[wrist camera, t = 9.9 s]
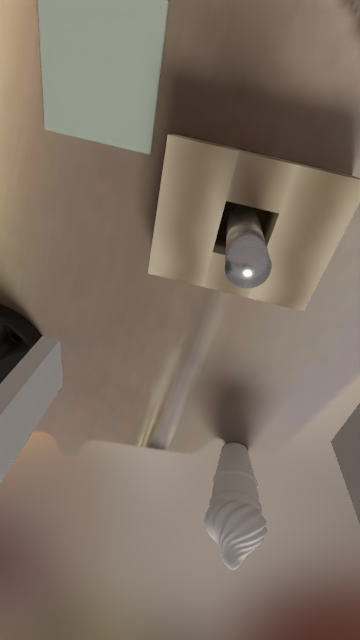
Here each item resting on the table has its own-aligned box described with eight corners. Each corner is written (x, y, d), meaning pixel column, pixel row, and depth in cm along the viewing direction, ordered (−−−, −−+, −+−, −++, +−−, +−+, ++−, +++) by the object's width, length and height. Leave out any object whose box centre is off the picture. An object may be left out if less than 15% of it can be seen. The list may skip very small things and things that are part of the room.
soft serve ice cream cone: (232, 427, 46) (232, 547, 33) (271, 451, 48) (287, 574, 35) (199, 449, 50) (188, 563, 37) (237, 470, 52) (239, 587, 39)
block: (156, 258, 33) (147, 273, 30) (175, 133, 26) (167, 134, 23) (296, 292, 33) (304, 311, 29) (352, 175, 26) (370, 182, 23)
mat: (47, 129, 27) (45, 129, 27) (39, -28, 22) (36, -30, 22) (151, 154, 27) (150, 154, 27) (169, 2, 22) (168, 0, 21)
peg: (223, 232, 30) (219, 282, 20) (232, 202, 29) (232, 241, 19) (252, 239, 30) (262, 293, 20) (262, 209, 28) (278, 251, 18)
